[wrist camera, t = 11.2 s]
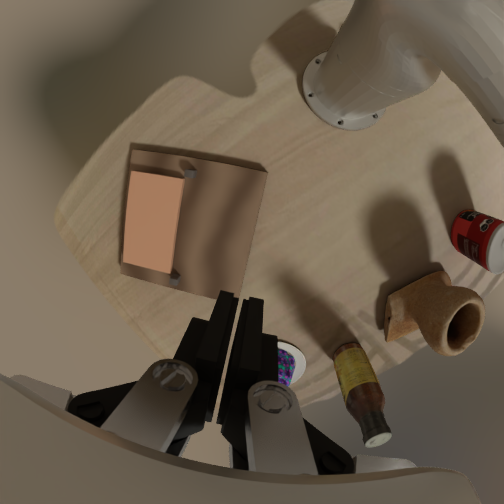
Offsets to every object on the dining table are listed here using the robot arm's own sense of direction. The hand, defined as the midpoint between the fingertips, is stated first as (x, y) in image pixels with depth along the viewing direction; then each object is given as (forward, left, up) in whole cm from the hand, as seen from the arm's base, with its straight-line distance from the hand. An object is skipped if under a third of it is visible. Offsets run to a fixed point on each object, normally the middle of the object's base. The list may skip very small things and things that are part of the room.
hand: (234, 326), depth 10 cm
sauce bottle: (+22, +22, -29) cm, 43 cm away
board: (+5, -10, -29) cm, 31 cm away
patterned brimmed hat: (+27, +9, -30) cm, 41 cm away
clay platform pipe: (+8, +30, -29) cm, 43 cm away
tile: (+5, -15, -26) cm, 31 cm away
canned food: (-6, +36, -29) cm, 47 cm away
